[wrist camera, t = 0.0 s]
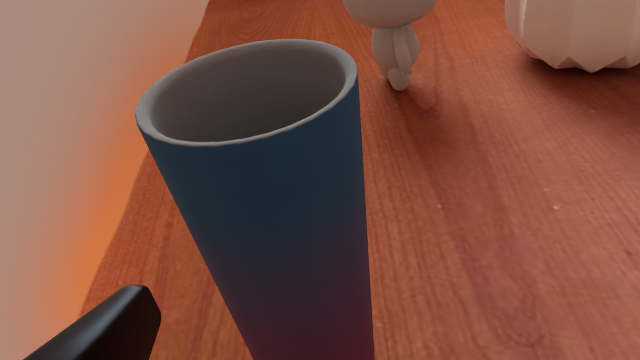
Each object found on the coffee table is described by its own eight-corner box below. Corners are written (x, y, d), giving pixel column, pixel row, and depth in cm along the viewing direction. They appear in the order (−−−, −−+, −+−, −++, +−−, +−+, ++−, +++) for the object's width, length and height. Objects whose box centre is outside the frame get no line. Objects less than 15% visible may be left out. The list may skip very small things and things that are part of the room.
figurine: (456, 93, 44) (455, -61, 37) (369, 114, 43) (351, -38, 36) (420, 57, 51) (414, -79, 44) (344, 76, 50) (325, -60, 43)
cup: (235, 443, 23) (94, 154, 14) (265, 315, 28) (176, 49, 19) (395, 448, 22) (350, 135, 13) (394, 313, 27) (362, 29, 18)
